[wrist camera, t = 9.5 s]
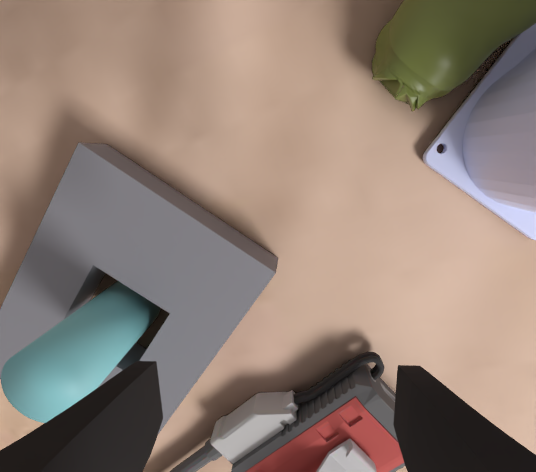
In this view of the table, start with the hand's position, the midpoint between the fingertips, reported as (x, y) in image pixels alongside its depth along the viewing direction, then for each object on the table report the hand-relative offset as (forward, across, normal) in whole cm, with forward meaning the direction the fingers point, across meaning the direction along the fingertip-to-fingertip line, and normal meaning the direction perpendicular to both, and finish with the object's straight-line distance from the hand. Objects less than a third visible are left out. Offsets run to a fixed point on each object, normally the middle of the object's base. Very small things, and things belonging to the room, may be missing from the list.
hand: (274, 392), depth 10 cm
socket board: (+11, +10, +2) cm, 15 cm away
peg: (+11, +10, +2) cm, 15 cm away
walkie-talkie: (+11, 0, +13) cm, 17 cm away
